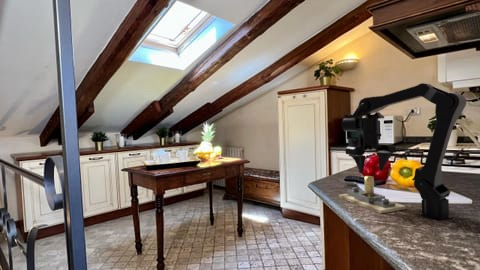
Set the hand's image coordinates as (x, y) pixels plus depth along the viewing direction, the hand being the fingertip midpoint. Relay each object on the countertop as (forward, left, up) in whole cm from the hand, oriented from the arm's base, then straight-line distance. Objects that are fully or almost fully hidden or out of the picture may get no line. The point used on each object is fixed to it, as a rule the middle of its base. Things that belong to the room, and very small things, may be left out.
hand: (371, 171), depth 102 cm
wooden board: (+1, +1, -12) cm, 12 cm away
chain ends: (+1, +1, -12) cm, 12 cm away
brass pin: (+1, +1, -11) cm, 11 cm away
